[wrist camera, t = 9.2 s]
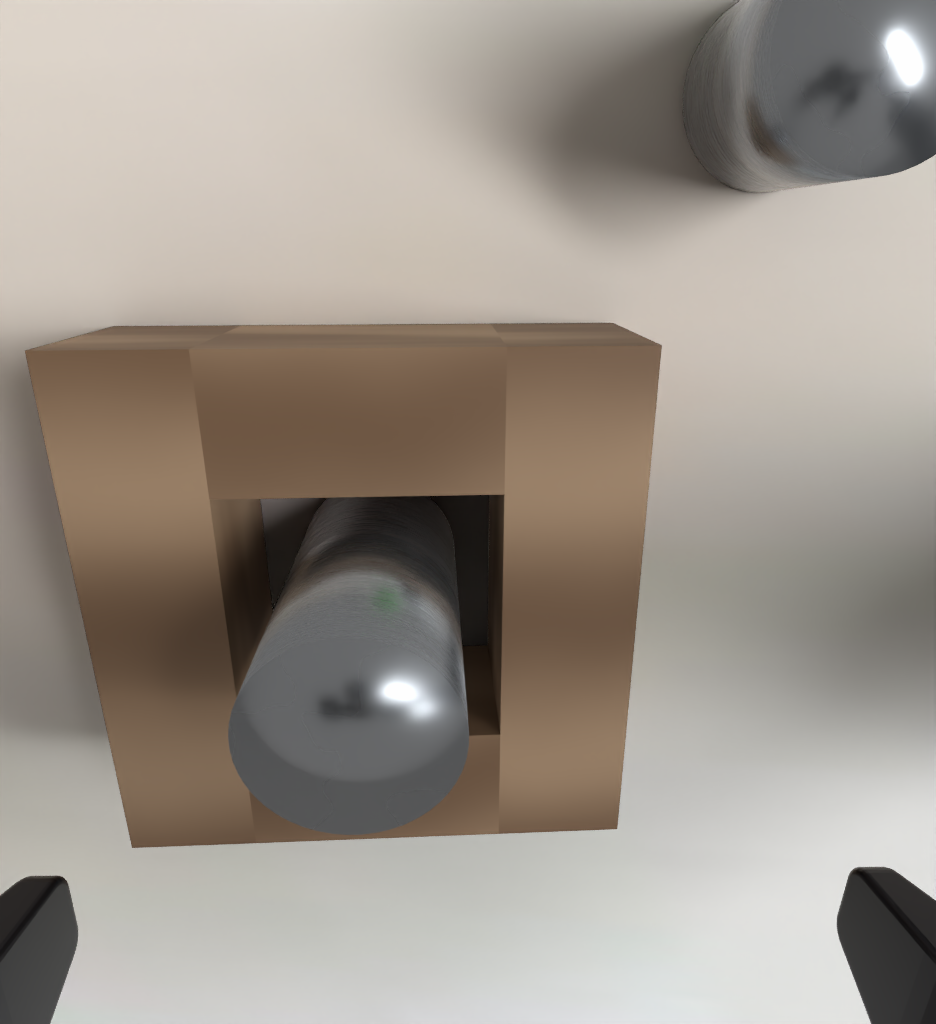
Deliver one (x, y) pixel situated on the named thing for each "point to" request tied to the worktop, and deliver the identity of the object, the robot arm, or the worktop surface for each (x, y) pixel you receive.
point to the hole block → (354, 473)
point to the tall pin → (359, 673)
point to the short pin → (813, 92)
